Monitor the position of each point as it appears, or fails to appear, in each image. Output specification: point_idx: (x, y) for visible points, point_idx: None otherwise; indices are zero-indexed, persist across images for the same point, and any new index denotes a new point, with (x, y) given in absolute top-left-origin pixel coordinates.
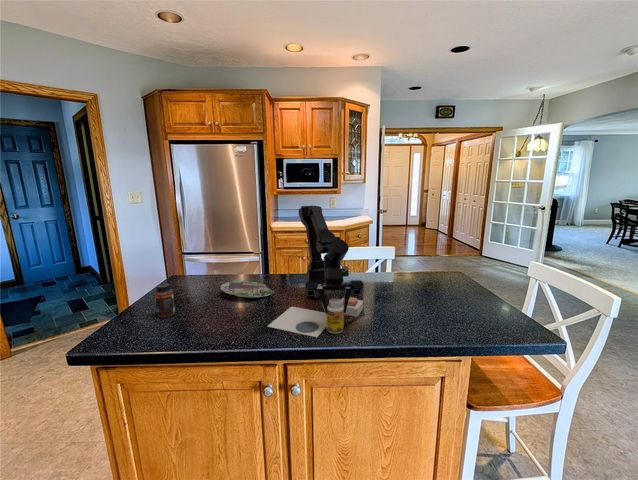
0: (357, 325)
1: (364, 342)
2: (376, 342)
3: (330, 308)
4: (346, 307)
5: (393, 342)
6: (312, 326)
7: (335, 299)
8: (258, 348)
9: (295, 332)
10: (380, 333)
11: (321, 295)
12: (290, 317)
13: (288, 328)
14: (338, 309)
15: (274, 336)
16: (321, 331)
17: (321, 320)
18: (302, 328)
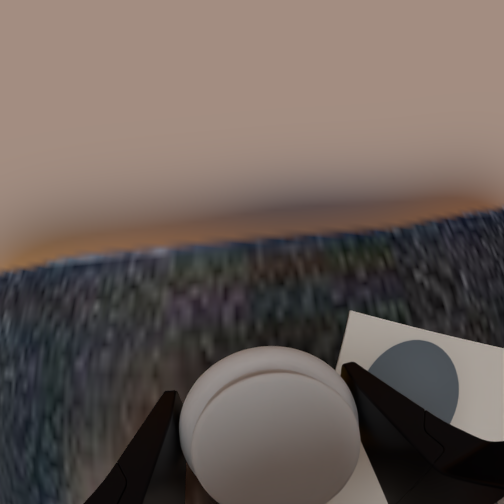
0: None
1: (111, 286)
2: (66, 289)
3: (320, 373)
4: (149, 416)
5: (15, 291)
6: None
7: (278, 485)
8: (496, 211)
9: (448, 336)
10: (39, 367)
11: (472, 452)
12: None
13: (478, 360)
14: (232, 362)
15: (496, 290)
16: (336, 370)
17: (346, 488)
18: (430, 376)
